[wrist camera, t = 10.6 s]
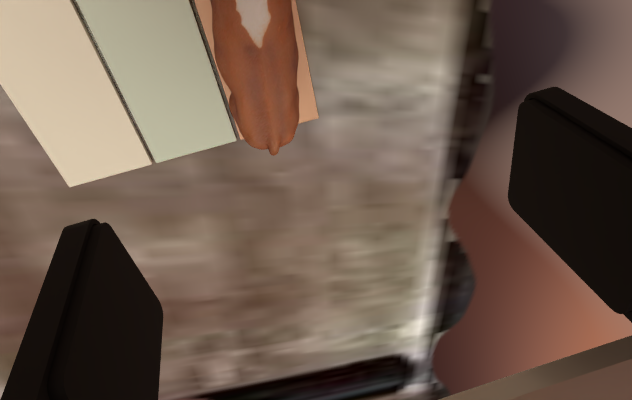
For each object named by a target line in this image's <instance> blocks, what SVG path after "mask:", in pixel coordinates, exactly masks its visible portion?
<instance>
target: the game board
mask: <svg viewBox="0 0 632 400" xmlns="http://www.w3.org/2000/svg"><path fill="white" fill-rule="evenodd" d="M76 1H77V3H78V5H79V7H80V9H81V11H82V13H83V15H84V17H85V19H86V22H87V24H88V26H89V28H90V30H91V32H92V34H93V36H94V38H95V40H96V42H97V44H98V46H99V48H100V50H101V52H102V54H103V56H104V58H105V60H106V62H107V64H108V66H109V68H110V70H111V72H112V74H113V76H114V78H115V80H116V82H117V84H118V86H119V88H120V90H121V92H122V94H123V97H124V99H125V101H126V103H127V105H128V107H129V109H130V111H131V113H132V115H133V117H134V119H135V121H136V123H137V125H138V127H139V129H140V131H141V133H142V135H143V137H144V139H145V141H146V143H147V145H148V147H149V149H150V151H151V153H152V155H153V157H154V159H155V161H156V163H158V162H162V161H166V160H169V159H173V158H176V157H180V156H184V155H187V154H191V153H194V152H198V151H202V150H205V149H209V148H212V147H216V146H220V145H223V144H227V143H230V142H234V141H236V136H235V133H234V131H233V128H232V125H231V122H230V119H229V116H228V113H227V110H226V107H225V104H224V101H223V98H222V95H221V92H220V90H219V87H218V84H217V81H216V78H215V75H214V72H213V69H212V66H211V63H210V60H209V57H208V54H207V51H206V48H205V46H204V43H203V40H202V37H201V34H200V31H199V28H198V25H197V22H196V19H195V16H194V13H193V10H192V7H191V4H190V2H189V0H76ZM194 1H195V4H196V7H197V10H198V13H199V16H200V19H201V22H202V25H203V28H204V31H205V34H206V37H207V40H208V43H209V46H210V49H211V52H212V55H213V58H214V61H215V64H216V67H217V63H216V60H215V54H214V39H213V32H212V6H211V2H210V0H194ZM292 13H293V19H294V28H295V36H296V41H297V46H298V55H299V60H298V69H297V87H298V91H299V122H298V124H299V123H302V122H306V121H310V120H313V119H317V118H319V117H318V112H317V107H316V102H315V97H314V92H313V87H312V82H311V77H310V72H309V67H308V61H307V56H306V51H305V46H304V41H303V36H302V31H301V26H300V21H299V16H298V11H297V6H296V1H295V0H292ZM217 70H218V73H219V76H220V79H221V82H222V85H223V88H224V91H225V94H226V97H227V100H228V103H229V98H230V95H231V92H230V89H229V88H228V86H227V85H226V83H225V82H224V80H223V78H222V76H221V74H220V71H219V69H218V67H217ZM0 84H1V86H2V87H3V89H4V90H5V92H6V93H7V95H8V96H9V98H10V99H11V101H12V102H13V104H14V105H15V107H16V108H17V110H18V111H19V113H20V114H21V116H22V117H23V119H24V120H25V122H26V123H27V125H28V126H29V128H30V129H31V131H32V132H33V133H34V135H35V136H36V138H37V139H38V141H39V142H40V144H41V145H42V147H43V148H44V150H45V151H46V153H47V154H48V156H49V157H50V159H51V160H52V162H53V163H54V165H55V166H56V168H57V169H58V171H59V172H60V174H61V175H62V177H63V178H64V180H65V181H66V183H67V184H68V186H69V187H72V186H76V185H79V184H83V183H86V182H90V181H94V180H97V179H101V178H104V177H108V176H112V175H115V174H119V173H122V172H126V171H130V170H133V169H137V168H140V167H144V166H148V165H151V164H152V159H151V157H150V155H149V153H148V151H147V149H146V147H145V145H144V143H143V141H142V139H141V137H140V135H139V133H138V131H137V129H136V127H135V125H134V123H133V121H132V119H131V117H130V115H129V113H128V111H127V109H126V107H125V105H124V103H123V101H122V99H121V97H120V95H119V93H118V91H117V89H116V87H115V85H114V83H113V81H112V79H111V77H110V75H109V73H108V71H107V69H106V67H105V65H104V63H103V61H102V59H101V57H100V55H99V53H98V51H97V49H96V47H95V45H94V43H93V41H92V39H91V37H90V35H89V33H88V31H87V29H86V27H85V25H84V23H83V21H82V19H81V17H80V15H79V13H78V11H77V9H76V7H75V5H74V3H73V1H72V0H0ZM234 121H235V120H234ZM235 124H236V122H235ZM236 127H237V130H238V133H239V136H240V139H244V138H243V136H242V134H241V133H240V131H239V128H238V126H237V124H236Z"/></svg>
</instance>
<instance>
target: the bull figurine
mask: <svg viewBox="0 0 632 400" xmlns="http://www.w3.org/2000/svg"><path fill="white" fill-rule="evenodd" d="M210 2H211V6H212V32H213V39H214V54H215V60H216V63H217V67H218V69H219V71H220V74H221V76H222V78H223V80H224V82H225V83H226V85H227V86H228V88H229V89H230V92H231V95H230V98H229V108H230V111H231V114H232V116H233V118H234V120H235V122H236V124H237V126H238V128H239V131H240V133H241V134H242V136H243V138H244V139H245V140H246V142H247V143H248V144H249V145H251V146H252V147H254V148H258V149H269V152H270V154H271V155H276V154H277V153H278V151H279V147H282V146H284V145H286V144H288V143H290V142H291V141H292V139H293V137H294V134H295V131H296V128H297V125H298V122H299V91H298V87H297V69H298V60H299V55H298V46H297V41H296V36H295V28H294V19H293V13H292V0H210Z"/></svg>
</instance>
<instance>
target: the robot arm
mask: <svg viewBox="0 0 632 400" xmlns="http://www.w3.org/2000/svg"><path fill="white" fill-rule="evenodd" d="M508 199H509V203H510V205H511V207H512V208H513V210H514V211H515V212H516V213H517V214H518V215H519V216H520V217H521V218H522V219H523V220H524V221H525V222H526V223H527V224H528V225H529V226H530V227H531V228H532V229H533V230H534V231H535V232H536V233H537V234H538V235H539V236H540V237H541V238H542V239H543V240H544V241H545V242H546V243H547V244H548V245H549V246H550V247H551V248H552V249H553V251H554V252H556V254H557V255H559V256H560V258H561V259H562V260H563V261H564V262H565V263H566V264H567V265H568V266H569V267H570V268H571V269H572V270H573V271H574V272H575V273H576V274H577V275H578V276H579V277H580V278H581V279H582V280H583V281H584V282H585V283H586V284H587V285H588V286H589V287H590V288H591V289H592V290H593V291H594V292H595V293H596V294H597V295H598V296H599V297H600V298H601V299H602V300H603V301H604V302H605V303H606V304H607V305H608V306H609V307H610V308H611V309H612V310H613V311H614V312H616V313H619V314H624V315H625V316H626V317H627V318H628V319H629V320H630V321H631V322H632V128H630V127H628V126H627V125H625V124H623V123H621V122H619V121H617V120H616V119H614V118H612V117H610V116H609V115H607V114H605V113H603V112H602V111H600V110H598V109H596V108H594V107H593V106H591V105H589V104H587V103H585V102H584V101H582V100H580V99H578V98H576V97H575V96H573V95H571V94H569V93H567V92H566V91H564V90H562V89H560V88H558V87H551V88H547V89H544V90H540V91H537V92H533V93H530V94H529V95H527V96H526V98H525V100H524V102H522V103H521V104H520V106H519V109H518V116H517V124H516V132H515V141H514V149H513V157H512V165H511V174H510V182H509V190H508ZM162 327H163V310H162V307H161V304H160V302H159V300H158V298H157V297H156V295H155V294H154V292H153V291H152V289H151V288H150V286H149V284H148V283H147V281H146V280H145V278H144V277H143V275H142V274H141V272H140V271H139V269H138V267H137V266H136V264H135V263H134V261H133V260H132V258H131V257H130V255H129V254H128V252H127V250H126V249H125V247H124V246H123V244H122V243H121V241H120V240H119V238H118V237H117V235H116V234H115V232H114V230H113V229H112V227H111V226H110V225H109V224H108V223H101V224H100V222H99V221H97V220H96V219H90V220H87V221H83V222H80V223H76V224H73V225H69V226H67V227H65V228H64V229H63V231H62V234H61V236H60V239H59V242H58V244H57V247H56V250H55V253H54V255H53V258H52V261H51V264H50V266H49V269H48V272H47V274H46V277H45V280H44V283H43V285H42V288H41V291H40V294H39V296H38V299H37V302H36V305H35V307H34V310H33V313H32V315H31V318H30V321H29V324H28V326H27V329H26V332H25V335H24V337H23V340H22V343H21V345H20V348H19V351H18V354H17V356H16V359H15V362H14V365H13V367H12V370H11V373H10V376H9V378H8V381H7V384H6V386H5V389H4V392H3V395H2V397H1V400H158V392H159V376H160V360H161V343H162ZM440 400H632V336H629V337H626V338H623V339H620V340H617V341H614V342H611V343H608V344H605V345H602V346H599V347H596V348H592V349H590V350H586V351H583V352H580V353H577V354H574V355H571V356H569V357H565V358H562V359H559V360H556V361H553V362H550V363H547V364H544V365H541V366H538V367H535V368H532V369H529V370H526V371H523V372H520V373H517V374H514V375H511V376H508V377H505V378H502V379H500V380H496V381H493V382H490V383H488V384H484V385H481V386H478V387H475V388H472V389H470V390H466V391H463V392H461V393H457V394H454V395H451V396H449V397H446V398H443V399H440Z"/></svg>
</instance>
